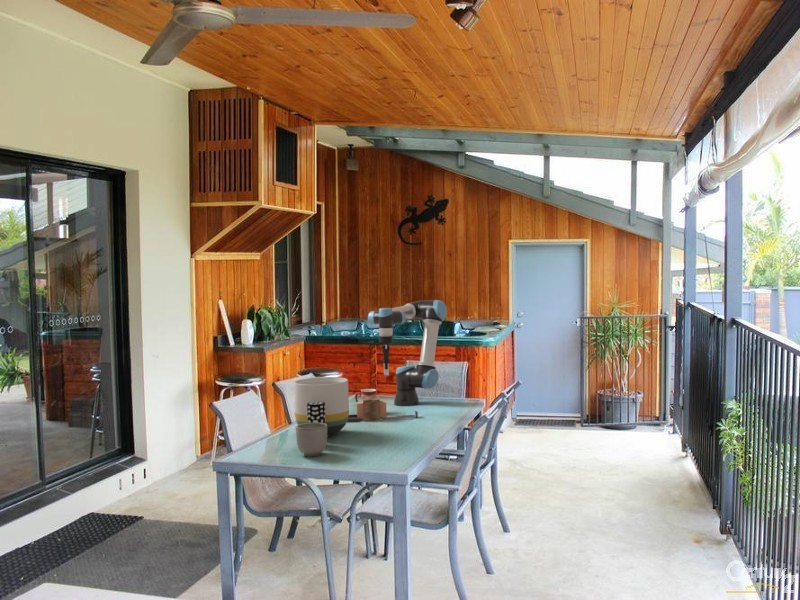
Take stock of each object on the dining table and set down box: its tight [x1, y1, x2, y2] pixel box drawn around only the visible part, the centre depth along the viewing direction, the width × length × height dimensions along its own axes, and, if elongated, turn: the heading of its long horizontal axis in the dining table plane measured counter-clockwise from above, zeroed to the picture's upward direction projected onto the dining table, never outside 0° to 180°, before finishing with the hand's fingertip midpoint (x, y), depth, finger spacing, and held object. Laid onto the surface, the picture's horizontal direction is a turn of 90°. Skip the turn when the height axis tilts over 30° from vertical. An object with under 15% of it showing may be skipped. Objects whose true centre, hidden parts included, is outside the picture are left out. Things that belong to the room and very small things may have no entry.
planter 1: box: [293, 376, 350, 437], centre depth 350 cm, size 27×27×27 cm
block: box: [356, 400, 388, 419], centre depth 386 cm, size 16×6×8 cm, turn 93°
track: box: [360, 410, 419, 421], centre depth 386 cm, size 31×5×3 cm, turn 93°
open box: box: [363, 395, 381, 423], centre depth 386 cm, size 9×12×12 cm
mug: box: [355, 388, 377, 403], centre depth 403 cm, size 13×9×14 cm
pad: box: [381, 418, 414, 421], centre depth 387 cm, size 17×9×1 cm, turn 93°
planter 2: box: [295, 423, 328, 458], centre depth 310 cm, size 14×14×13 cm
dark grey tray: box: [347, 413, 361, 423], centre depth 386 cm, size 9×12×2 cm
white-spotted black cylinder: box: [307, 402, 326, 424], centre depth 326 cm, size 8×8×20 cm
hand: (386, 373), depth 391 cm, fingers open, 13 cm apart
